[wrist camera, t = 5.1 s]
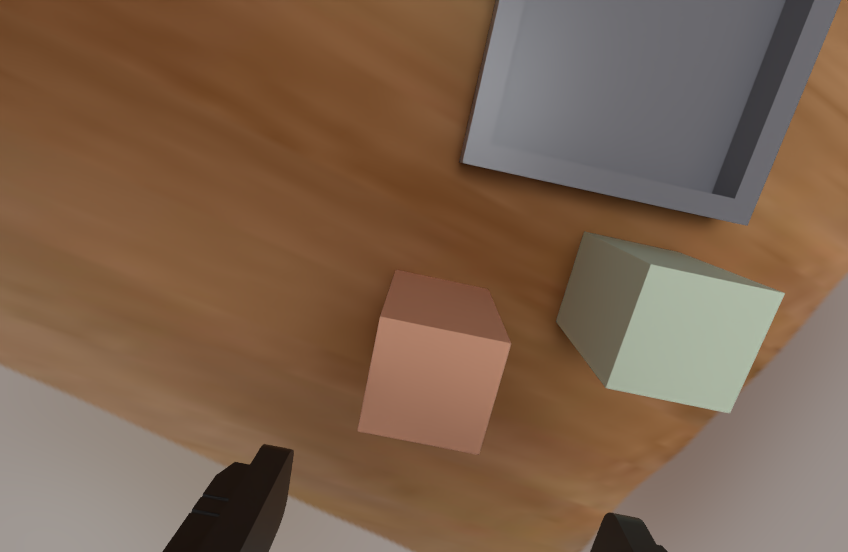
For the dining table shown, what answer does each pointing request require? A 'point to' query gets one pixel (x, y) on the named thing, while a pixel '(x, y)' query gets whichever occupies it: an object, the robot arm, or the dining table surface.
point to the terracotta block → (435, 364)
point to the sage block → (664, 322)
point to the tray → (645, 96)
